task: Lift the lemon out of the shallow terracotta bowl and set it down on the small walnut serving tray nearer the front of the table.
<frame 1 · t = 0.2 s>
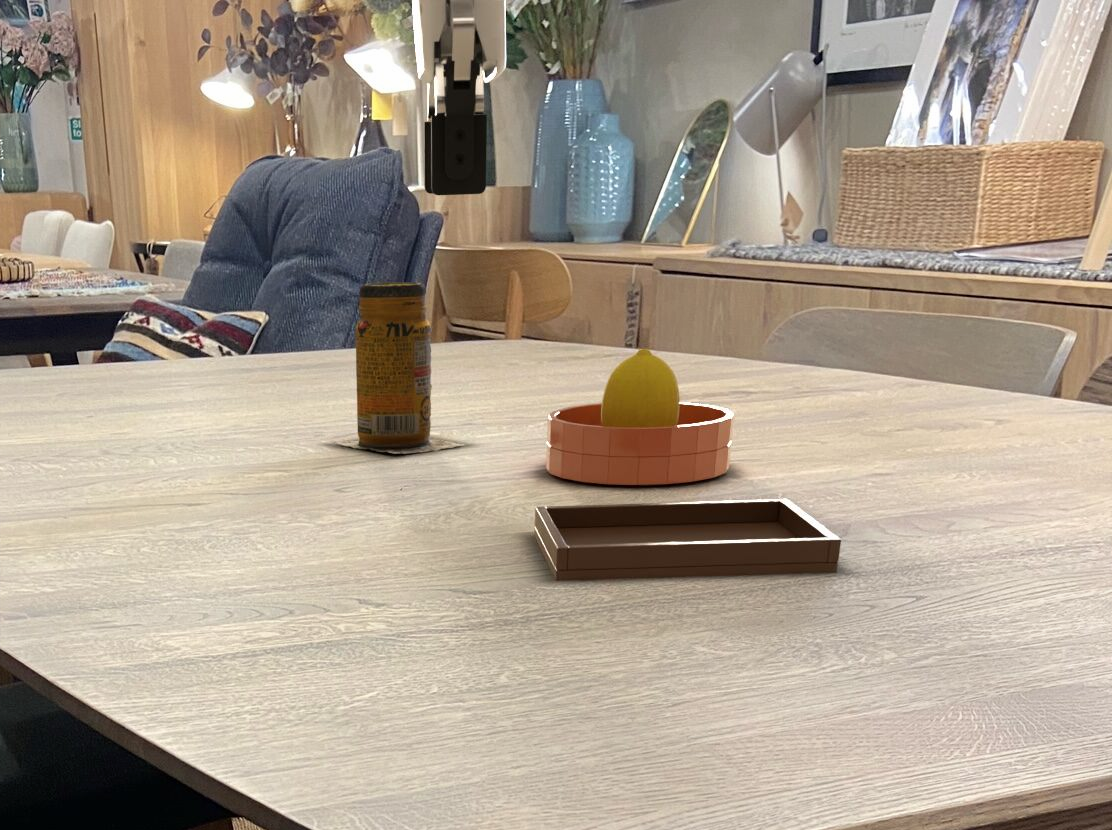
hand: (453, 193, 90), 18 cm above the table, tool pointing down, fingers open, 9 cm apart
bowl: (636, 472, 105), on the table
tray: (676, 554, 83), on the table
condiment: (399, 449, 119), on the table
lemon: (636, 471, 105), resting on bowl
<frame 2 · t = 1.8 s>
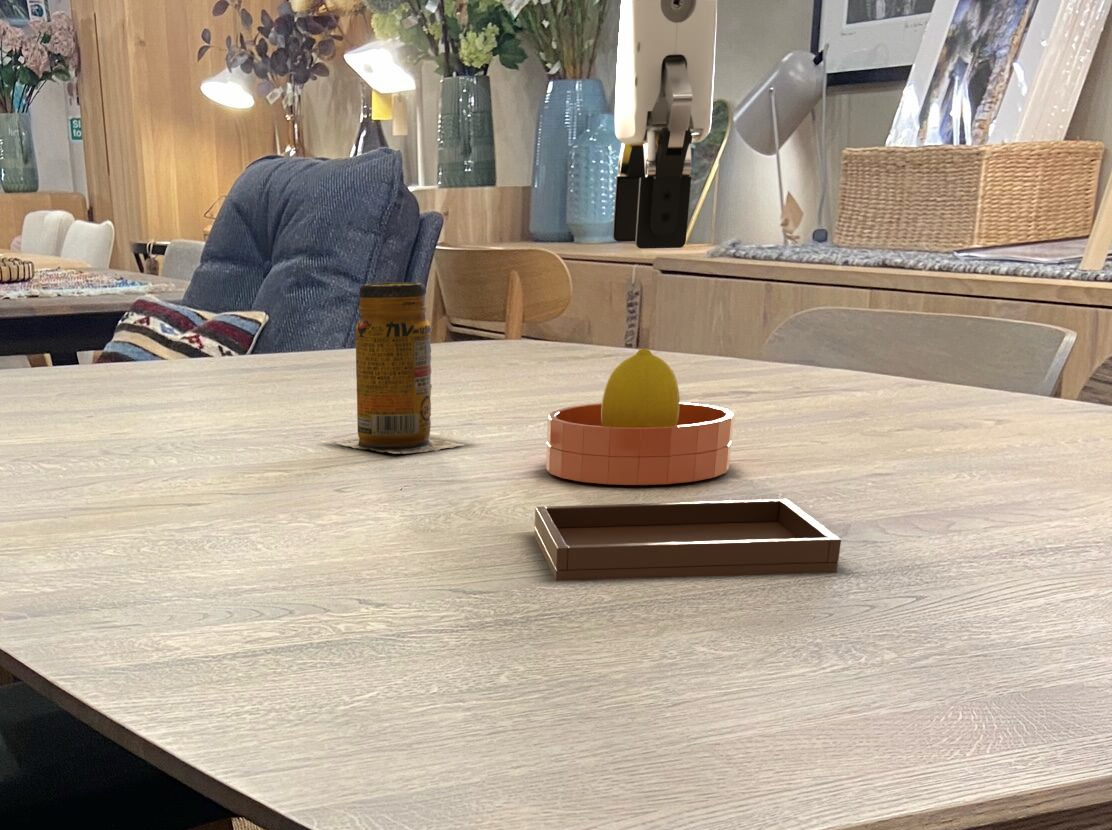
hand: (647, 244, 98), 15 cm above the table, tool pointing down, fingers open, 9 cm apart
nothing on the table moved.
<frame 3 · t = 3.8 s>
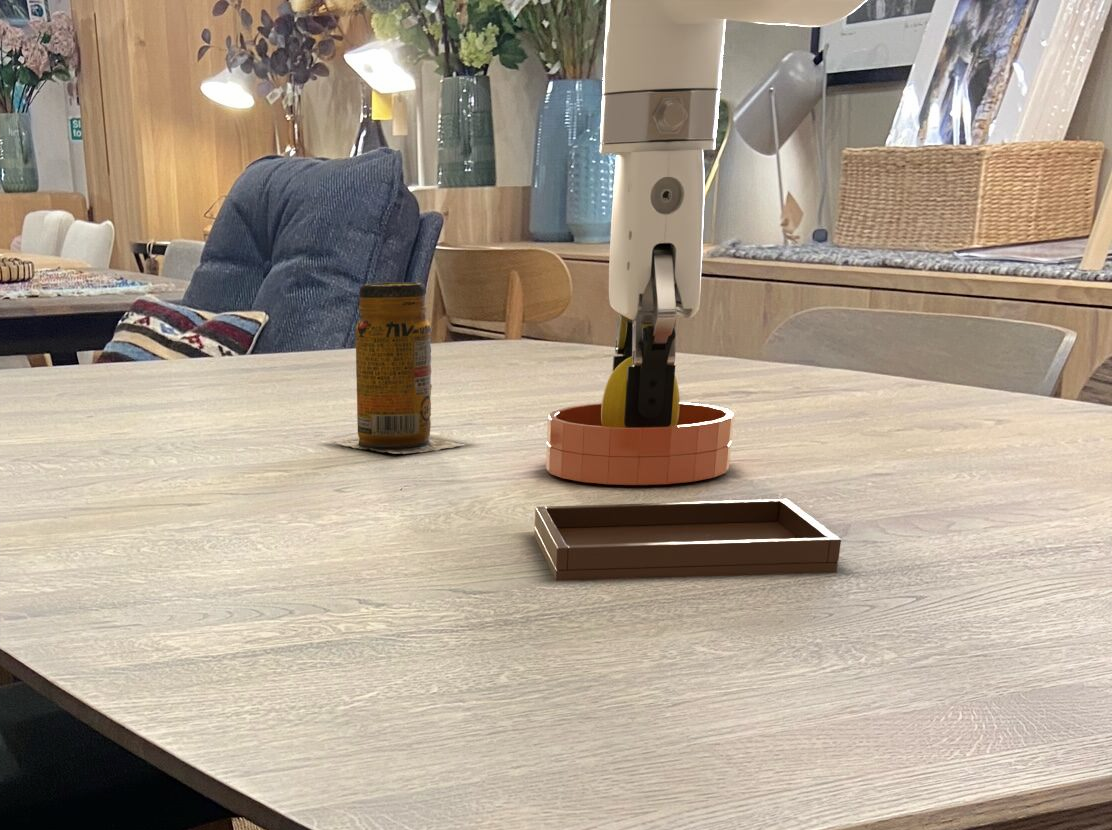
hand: (639, 418, 104), 4 cm above the table, tool pointing down, fingers closed on lemon, 5 cm apart
lemon: (636, 471, 105), resting on bowl, touching gripper
everything else where it was.
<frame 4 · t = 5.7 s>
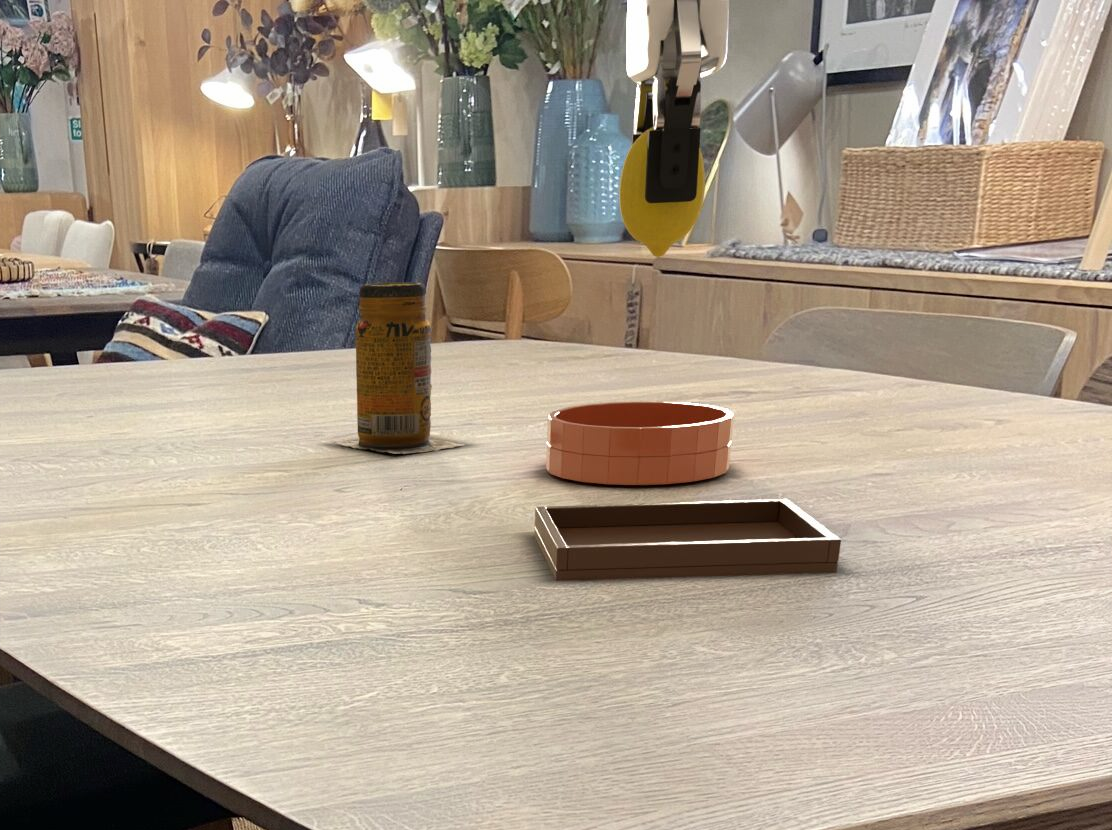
hand: (661, 198, 95), 18 cm above the table, tool pointing down, fingers closed on lemon, 5 cm apart
lemon: (658, 260, 97), point 14 cm above the table, touching gripper
everything else where it was.
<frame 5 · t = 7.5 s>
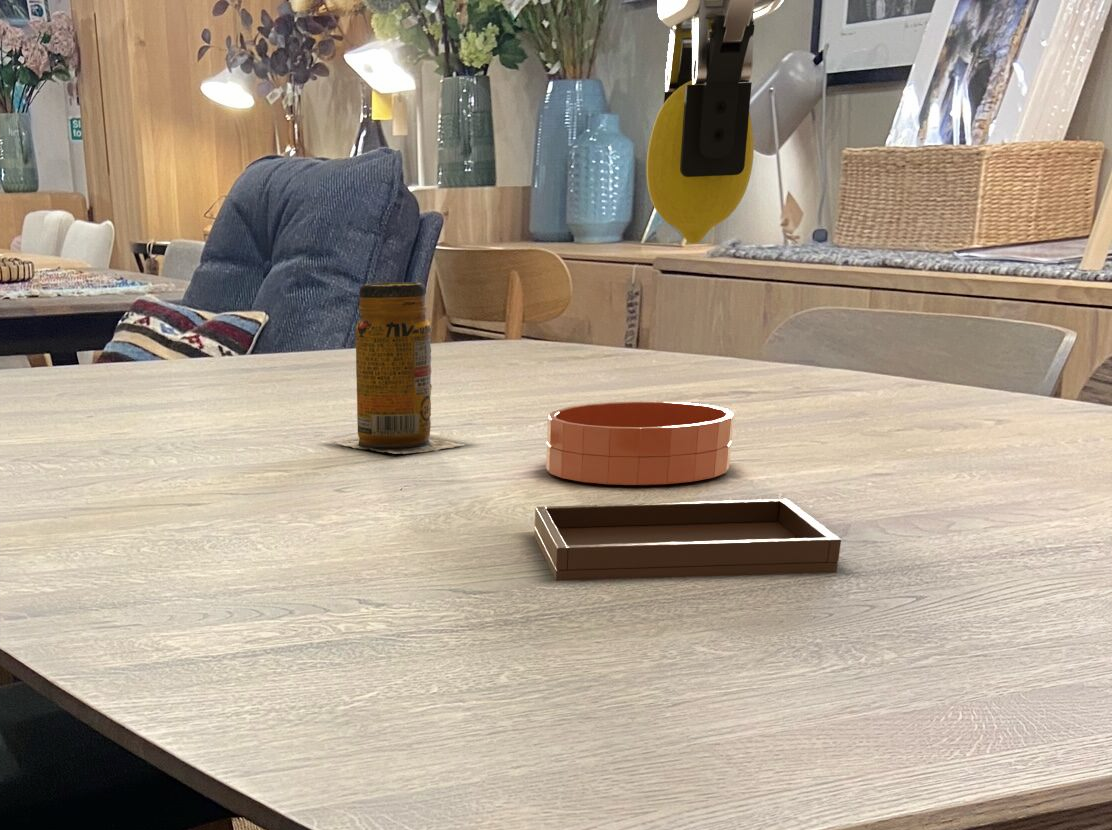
hand: (699, 171, 77), 19 cm above the table, tool pointing down, fingers closed on lemon, 5 cm apart
lemon: (693, 248, 79), point 15 cm above the table, touching gripper
everything else where it was.
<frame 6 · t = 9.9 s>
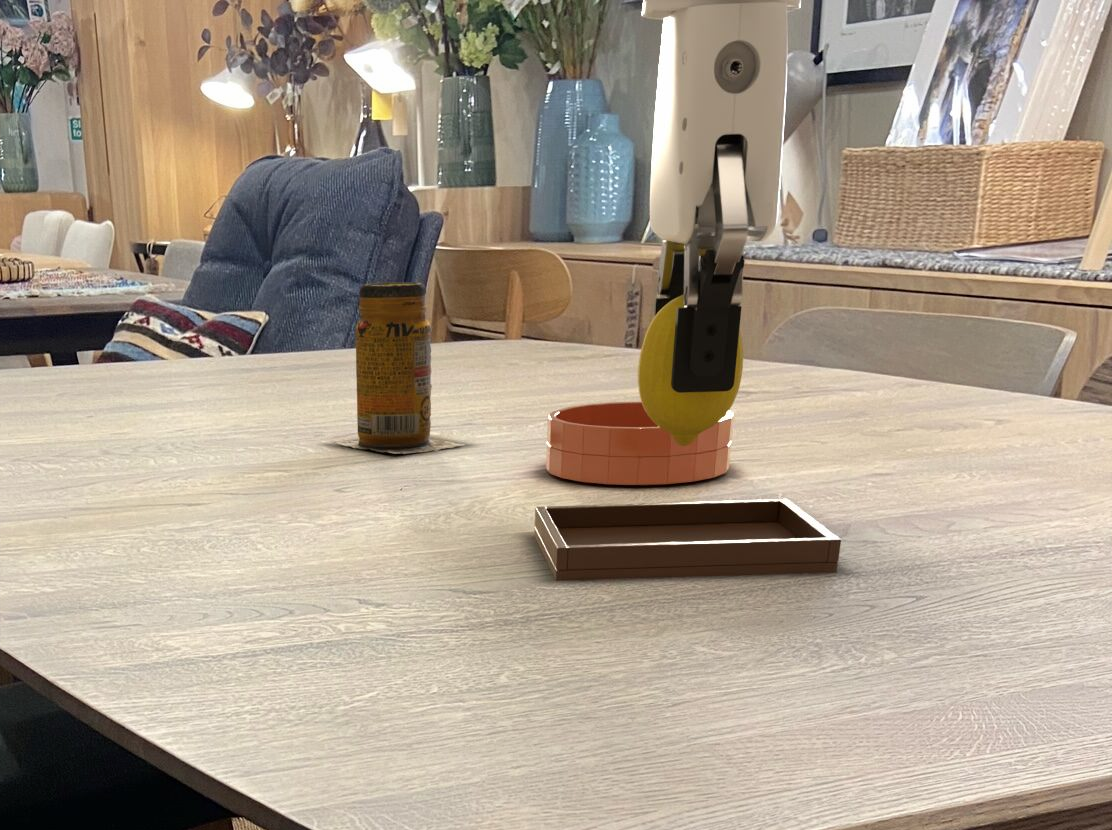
hand: (690, 379, 78), 9 cm above the table, tool pointing down, fingers closed on lemon, 5 cm apart
lemon: (683, 449, 80), point 6 cm above the table, touching gripper
everything else where it was.
when the fingers open (4 cm above the table, at t = 11.6 s): lemon stays where it is, resting on tray.
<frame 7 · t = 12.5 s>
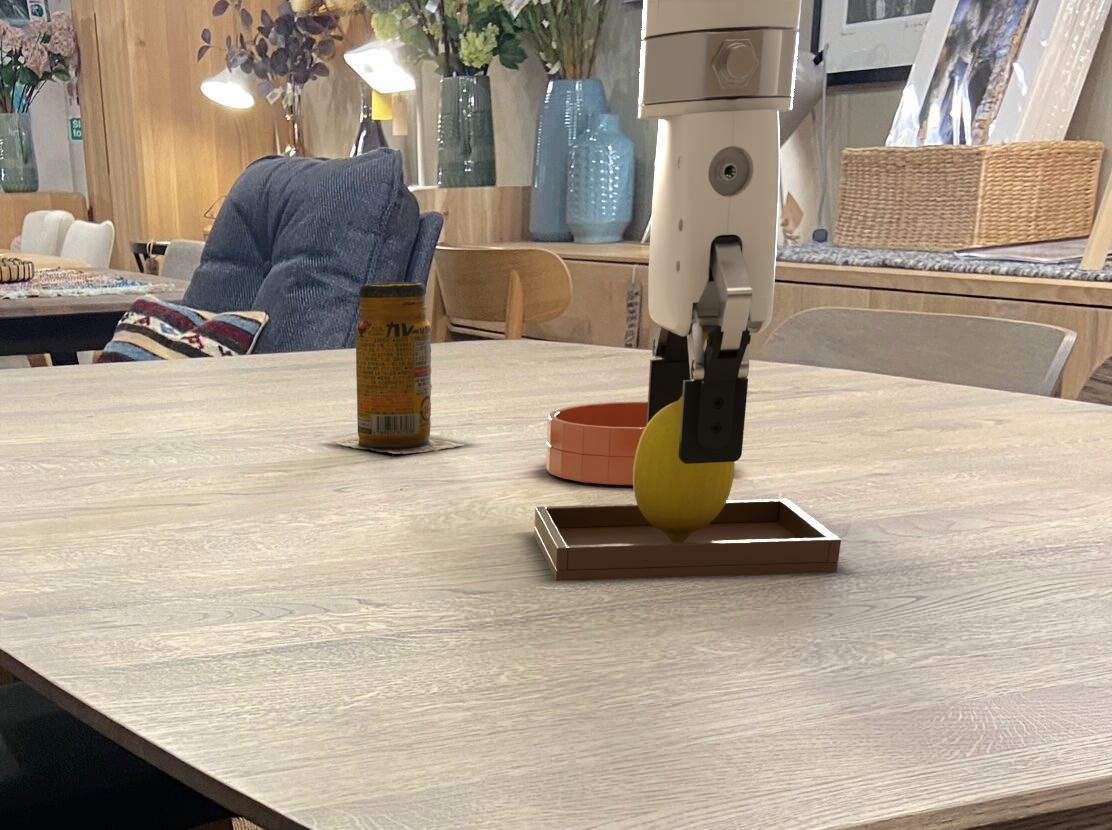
hand: (690, 446, 80), 6 cm above the table, tool pointing down, fingers open, 9 cm apart
lemon: (677, 547, 83), resting on tray
everything else where it was.
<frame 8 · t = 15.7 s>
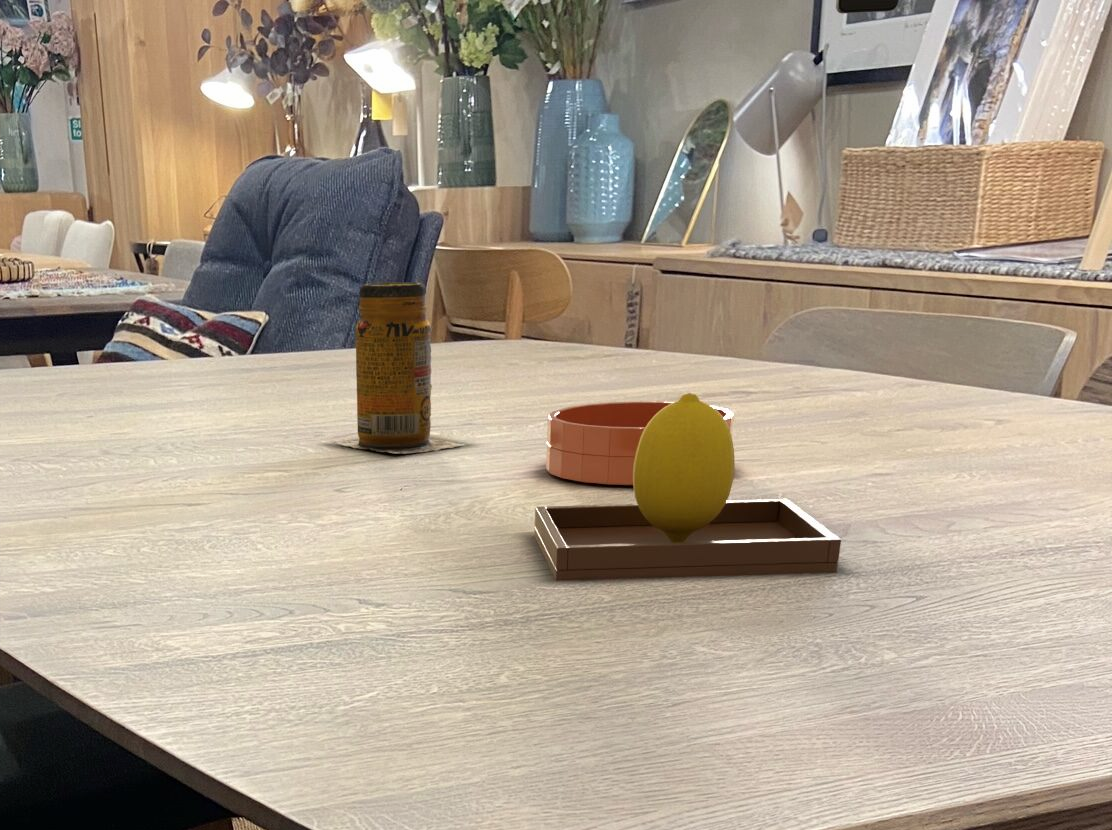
hand: (894, 2, 74), 26 cm above the table, tool pointing down, fingers open, 9 cm apart
nothing on the table moved.
at the end: lemon inside the target area in the tray (0.0 cm from its centre), point 0.4 cm above the tray's base; the gripper is holding nothing; lemon 0.0 cm from the tray (horizontally) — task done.
